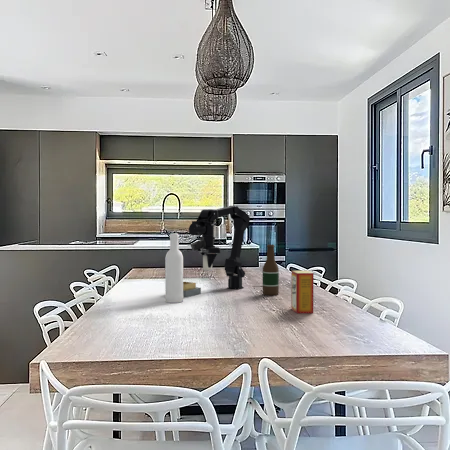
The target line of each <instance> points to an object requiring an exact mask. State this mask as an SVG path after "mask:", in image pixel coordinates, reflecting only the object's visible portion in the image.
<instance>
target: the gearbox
mask: <svg viewBox="0 0 450 450" xmlns="http://www.w3.org/2000/svg"><path fill="white" fill-rule="evenodd" d="M201 294H202V287H197V282H192V281H183V298H189V297H193V296H194V297H195V296H197V295H201Z"/></svg>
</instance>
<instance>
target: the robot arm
mask: <svg viewBox="0 0 450 450" xmlns="http://www.w3.org/2000/svg"><path fill="white" fill-rule="evenodd" d="M224 216H229V217H230V219H231V220H232V225H233V228H234V232H233V234H234V235H233V239H232V244H231V249H230V250H231V251H230V256H229V257H228V258H225V259H224V261H225V262H224V271H225V275H226V277H228V279H227V280H228V282H227V286H228V287H227V288H226V289H229V290H241V289H244V288H245V287H244V286H243V278H244V277H245V276H246V272H245V270H244V269H243V268H242V265H243V263H242V261H241V252H242V248H243V247H242V246H243V243H244V241H243V240H244V234H245V231H246V229H247V228H248V227H249V225H250V221H251V218H250V216H249V214H248V213H247V212H245V211H244V210H242V209H241V208H239V206H238V205H229V206H225V207H220V208H216V209H211V208H210V209H208V208H207V209H204V208H203V209H201V211H200V214H199V215H198V217H197V219H196V220H192V221H191V224H190V225H189V227H188V233H189V235H191V236H200V238H199V240H196V241H194V242H192V243H190V248H191V250H192V251H195V252H198V254H199V255H201V259H203V255H206V256H207V262H208V267H209V268H210V267H211V265H212V266H213V264H214V261H215V259H216V258H217V255H218V254H221V250H222V249H221V248H220V247H219V246H215V244H214V241H215V240H216V236H214V235H215V232H214V231H215V226H218V224H217V222H215V221H216V220H218V219H219V218H221V217H224Z"/></svg>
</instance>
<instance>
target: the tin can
mask: <svg viewBox="0 0 450 450" xmlns="http://www.w3.org/2000/svg"><path fill="white" fill-rule="evenodd" d="M202 270H203V271H204V272H205V271H206V272H208V271H209V272H210V271H211V272H212V271H213V264H212V265H211V267H210V268H209V267H208V262H207V256H206V255H203V258H202Z"/></svg>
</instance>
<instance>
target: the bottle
mask: <svg viewBox="0 0 450 450" xmlns="http://www.w3.org/2000/svg"><path fill="white" fill-rule="evenodd" d="M179 238H180V236H179V233H176V232H175V233H170V234H169V250H168V251H166V254H165V257H164V258H165V260H164V261H165V263H164V265H165V268H164V269H165V273H164V274H165V279H164V280H165V282H164V283H165V289H164V290H165V294H164V299H165V302H166V303H169V304H177V303H182V302H184V297H183V282H184V256H183V253H182V251H181V250H180V249H179Z"/></svg>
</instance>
